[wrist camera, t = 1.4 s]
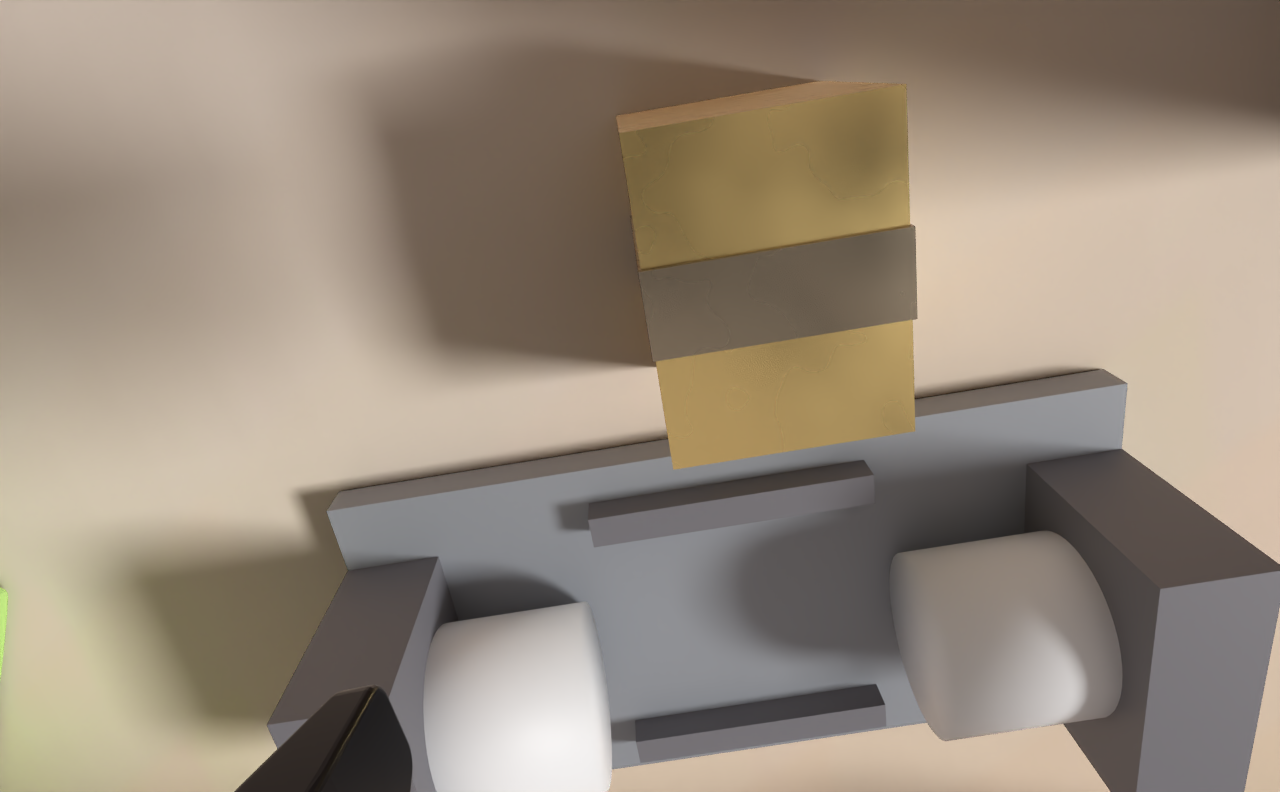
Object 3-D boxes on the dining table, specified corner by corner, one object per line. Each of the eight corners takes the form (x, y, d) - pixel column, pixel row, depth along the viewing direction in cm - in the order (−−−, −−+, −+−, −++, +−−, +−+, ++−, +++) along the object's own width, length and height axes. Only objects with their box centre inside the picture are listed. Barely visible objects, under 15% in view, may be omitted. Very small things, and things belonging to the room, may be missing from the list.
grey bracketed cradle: (1103, 368, 20) (1302, 488, 14) (1080, 672, 24) (1230, 862, 18) (339, 492, 20) (234, 653, 15) (437, 769, 24) (383, 983, 19)
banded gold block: (614, 115, 17) (616, 134, 12) (820, 80, 17) (911, 83, 12) (654, 367, 20) (670, 472, 14) (837, 337, 19) (920, 433, 14)
